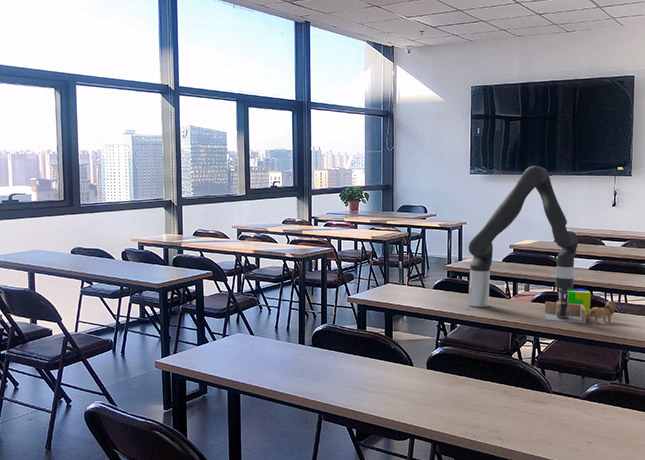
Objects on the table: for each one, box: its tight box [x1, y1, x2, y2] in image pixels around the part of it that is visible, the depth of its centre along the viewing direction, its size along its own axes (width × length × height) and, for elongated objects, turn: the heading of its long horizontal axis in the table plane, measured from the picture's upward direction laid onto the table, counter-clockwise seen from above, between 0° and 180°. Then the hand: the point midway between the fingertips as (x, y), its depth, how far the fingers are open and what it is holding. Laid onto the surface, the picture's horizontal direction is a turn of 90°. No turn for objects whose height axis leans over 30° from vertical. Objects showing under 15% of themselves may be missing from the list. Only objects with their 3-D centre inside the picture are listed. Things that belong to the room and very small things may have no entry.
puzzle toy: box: [567, 288, 592, 313], centre depth 294 cm, size 10×10×10 cm
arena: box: [544, 301, 587, 324], centre depth 278 cm, size 16×15×5 cm
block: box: [556, 300, 570, 318], centre depth 277 cm, size 5×5×6 cm
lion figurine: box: [586, 300, 616, 324], centre depth 272 cm, size 15×5×9 cm, turn 114°
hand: (562, 314), depth 277 cm, fingers closed on block, 5 cm apart
